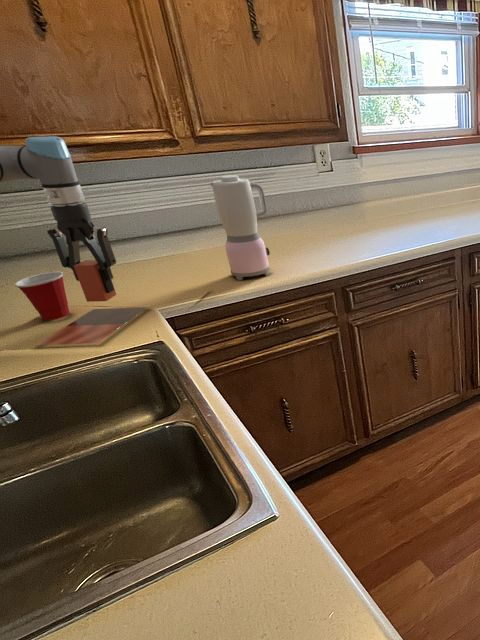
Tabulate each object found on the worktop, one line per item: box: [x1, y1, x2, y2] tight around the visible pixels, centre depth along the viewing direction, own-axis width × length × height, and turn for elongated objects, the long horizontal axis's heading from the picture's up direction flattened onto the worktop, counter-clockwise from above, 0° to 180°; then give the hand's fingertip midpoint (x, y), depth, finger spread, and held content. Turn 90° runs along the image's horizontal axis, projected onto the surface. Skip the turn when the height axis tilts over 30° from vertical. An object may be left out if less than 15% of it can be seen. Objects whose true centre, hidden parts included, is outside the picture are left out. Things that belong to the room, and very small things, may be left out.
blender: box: [208, 174, 271, 281], centre depth 170 cm, size 16×12×32 cm
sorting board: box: [35, 306, 148, 349], centre depth 138 cm, size 15×24×1 cm, turn 4°
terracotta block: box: [74, 259, 117, 303], centre depth 139 cm, size 5×5×10 cm
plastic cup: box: [14, 271, 70, 321], centre depth 142 cm, size 11×11×12 cm
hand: (99, 291), depth 140 cm, fingers closed on terracotta block, 5 cm apart
